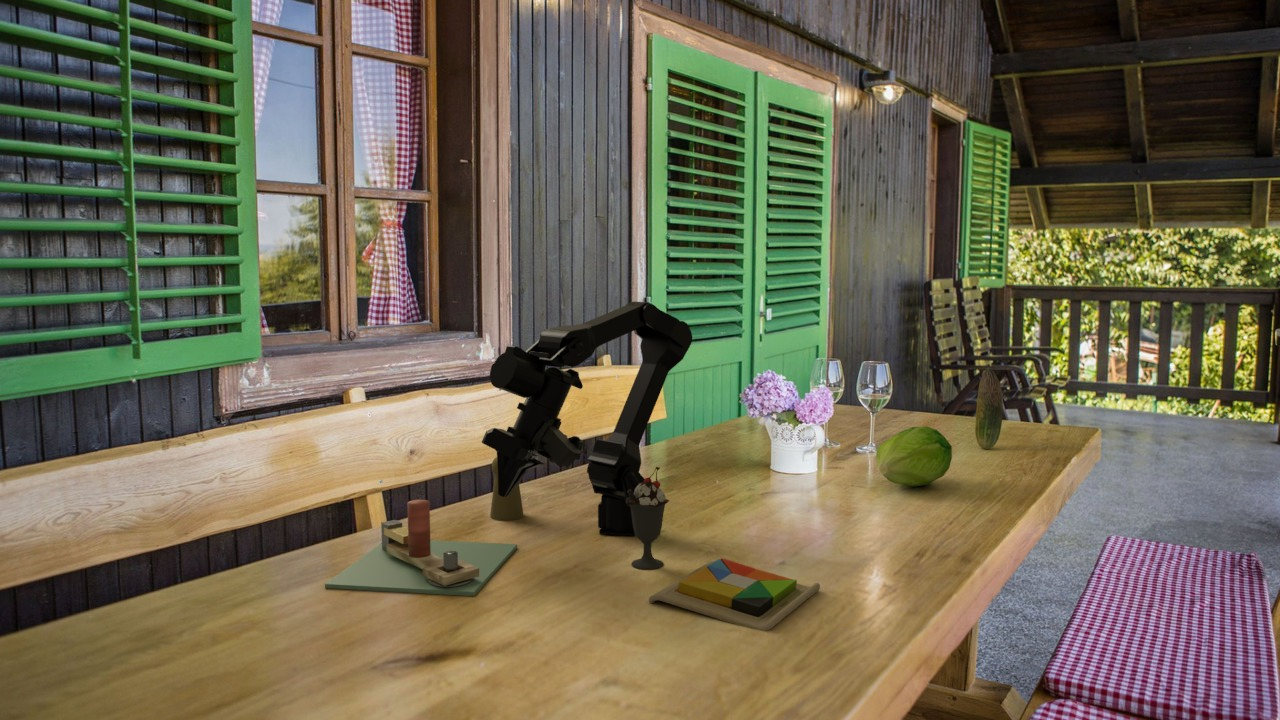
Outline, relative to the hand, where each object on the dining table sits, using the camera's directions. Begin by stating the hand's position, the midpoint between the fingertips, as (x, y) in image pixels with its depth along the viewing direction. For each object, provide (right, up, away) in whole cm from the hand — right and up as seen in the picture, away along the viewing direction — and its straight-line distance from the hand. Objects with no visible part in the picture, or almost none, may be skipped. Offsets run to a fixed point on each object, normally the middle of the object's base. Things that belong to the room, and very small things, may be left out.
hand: (502, 496), depth 147 cm
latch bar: (-10, -9, -7) cm, 16 cm away
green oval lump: (+76, -5, +44) cm, 88 cm away
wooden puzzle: (+35, -12, -17) cm, 41 cm away
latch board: (-11, -10, -4) cm, 15 cm away
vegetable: (+107, -1, +84) cm, 136 cm away
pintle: (-6, -11, -12) cm, 17 cm away
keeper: (-16, -10, 0) cm, 19 cm away
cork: (-3, -7, +24) cm, 25 cm away
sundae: (+23, -10, -3) cm, 25 cm away
